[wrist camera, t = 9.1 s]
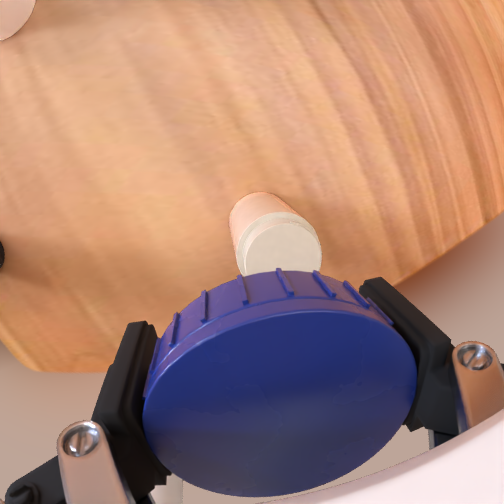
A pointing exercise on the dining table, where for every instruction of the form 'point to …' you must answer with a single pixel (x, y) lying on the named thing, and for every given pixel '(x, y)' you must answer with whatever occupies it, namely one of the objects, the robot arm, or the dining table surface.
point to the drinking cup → (1, 255)
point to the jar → (272, 236)
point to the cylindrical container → (14, 16)
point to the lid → (276, 385)
